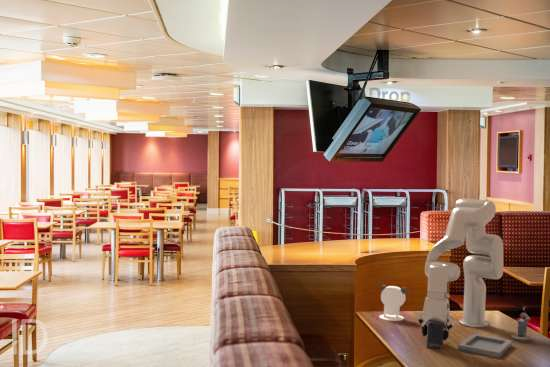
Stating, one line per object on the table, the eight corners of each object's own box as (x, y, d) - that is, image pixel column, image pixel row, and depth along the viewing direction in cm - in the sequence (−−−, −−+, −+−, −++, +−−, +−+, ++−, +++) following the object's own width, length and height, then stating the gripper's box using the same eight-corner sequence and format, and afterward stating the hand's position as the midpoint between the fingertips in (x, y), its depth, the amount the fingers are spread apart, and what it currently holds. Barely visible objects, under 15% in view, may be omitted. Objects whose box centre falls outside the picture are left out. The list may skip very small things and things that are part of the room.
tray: (473, 338, 280) (473, 333, 280) (511, 346, 271) (512, 340, 271) (457, 350, 263) (458, 344, 263) (498, 358, 254) (499, 352, 254)
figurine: (534, 339, 281) (535, 311, 281) (529, 344, 274) (530, 315, 274) (514, 335, 286) (515, 308, 286) (508, 340, 279) (509, 312, 279)
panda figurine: (407, 316, 314) (408, 285, 313) (402, 322, 303) (404, 290, 302) (382, 313, 318) (383, 282, 317) (377, 319, 307) (378, 287, 306)
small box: (443, 349, 263) (444, 323, 263) (426, 348, 265) (427, 322, 264) (442, 342, 274) (443, 317, 273) (426, 340, 275) (427, 315, 275)
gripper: (460, 296, 266) (458, 339, 267) (419, 290, 276) (417, 331, 277) (454, 300, 260) (452, 343, 261) (412, 293, 270) (411, 335, 271)
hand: (434, 337), depth 269 cm, fingers closed on small box, 8 cm apart
